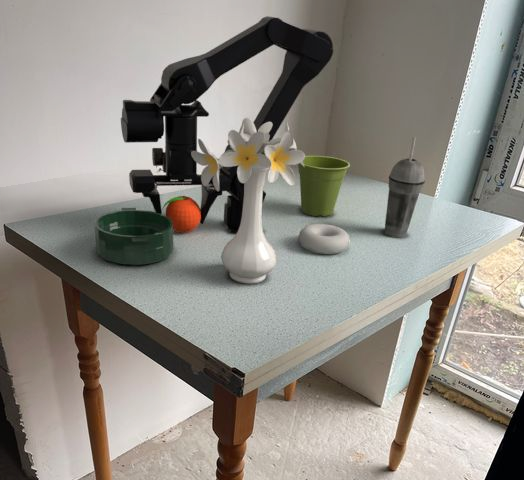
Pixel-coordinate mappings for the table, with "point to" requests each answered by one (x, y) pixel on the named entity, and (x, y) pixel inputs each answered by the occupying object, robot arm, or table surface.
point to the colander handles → (141, 239)
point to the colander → (133, 236)
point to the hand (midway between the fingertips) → (181, 224)
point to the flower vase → (251, 192)
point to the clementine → (183, 213)
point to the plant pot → (321, 183)
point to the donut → (324, 239)
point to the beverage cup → (403, 194)
